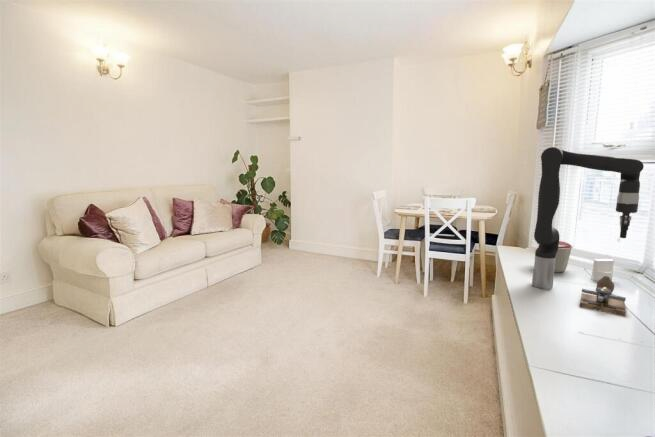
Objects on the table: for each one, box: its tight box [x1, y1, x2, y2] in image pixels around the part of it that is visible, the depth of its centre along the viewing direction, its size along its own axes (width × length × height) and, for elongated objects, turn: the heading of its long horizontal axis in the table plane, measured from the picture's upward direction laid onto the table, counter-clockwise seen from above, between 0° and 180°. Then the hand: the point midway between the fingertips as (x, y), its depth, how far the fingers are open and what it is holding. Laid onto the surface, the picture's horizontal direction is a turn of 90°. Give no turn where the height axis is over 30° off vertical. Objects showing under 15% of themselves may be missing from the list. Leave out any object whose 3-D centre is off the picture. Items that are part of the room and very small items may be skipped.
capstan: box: [581, 287, 627, 303], centre depth 151 cm, size 17×16×6 cm
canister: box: [536, 240, 574, 273], centre depth 200 cm, size 18×18×21 cm
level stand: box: [579, 292, 627, 317], centre depth 151 cm, size 16×14×3 cm
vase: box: [596, 276, 615, 294], centre depth 165 cm, size 7×7×9 cm
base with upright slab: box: [591, 258, 615, 283], centre depth 182 cm, size 9×9×12 cm
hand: (622, 237), depth 153 cm, fingers closed
